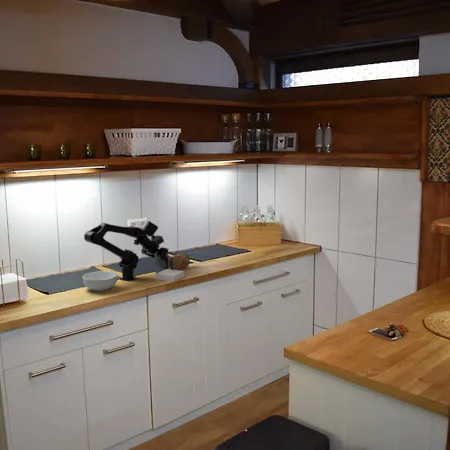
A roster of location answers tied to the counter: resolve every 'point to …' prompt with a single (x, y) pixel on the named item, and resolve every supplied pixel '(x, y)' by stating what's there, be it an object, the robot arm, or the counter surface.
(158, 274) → the stand
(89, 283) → the cereal bowl
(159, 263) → the block
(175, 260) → the mottled brown rounded slab
